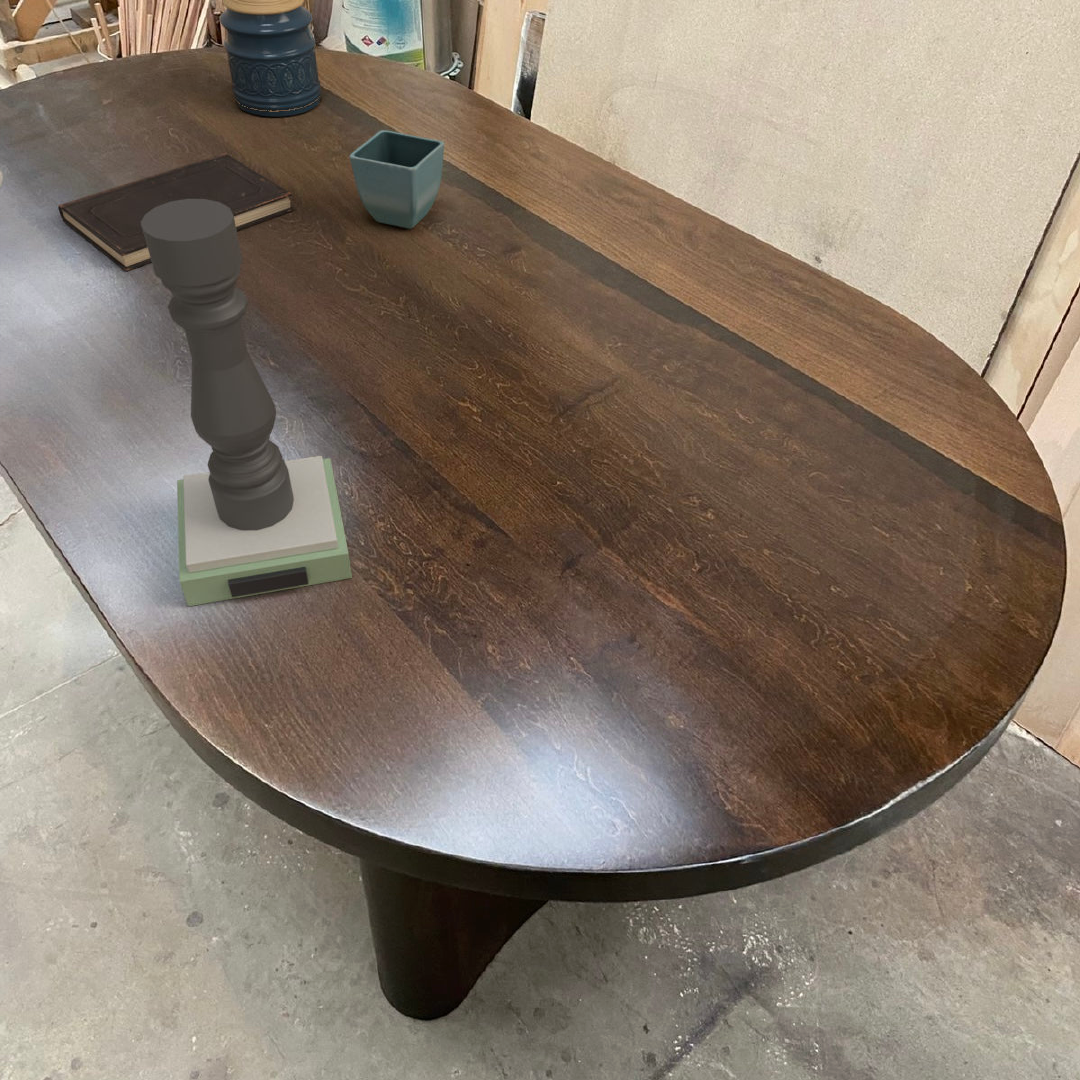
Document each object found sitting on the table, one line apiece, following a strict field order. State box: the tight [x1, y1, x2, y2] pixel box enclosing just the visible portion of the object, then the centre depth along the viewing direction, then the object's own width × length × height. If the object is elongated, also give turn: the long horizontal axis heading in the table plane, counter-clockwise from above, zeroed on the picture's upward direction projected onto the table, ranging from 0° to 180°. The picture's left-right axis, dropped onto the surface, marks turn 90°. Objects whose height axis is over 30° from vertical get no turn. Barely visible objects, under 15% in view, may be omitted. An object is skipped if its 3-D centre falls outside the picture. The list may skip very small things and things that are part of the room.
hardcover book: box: [57, 152, 295, 272], centre depth 120 cm, size 16×23×2 cm
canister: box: [219, 0, 322, 118], centre depth 140 cm, size 13×13×18 cm
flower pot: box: [349, 129, 445, 230], centre depth 119 cm, size 9×9×9 cm
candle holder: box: [141, 199, 294, 530], centre depth 70 cm, size 6×6×25 cm
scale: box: [176, 455, 353, 607], centre depth 80 cm, size 13×12×4 cm
